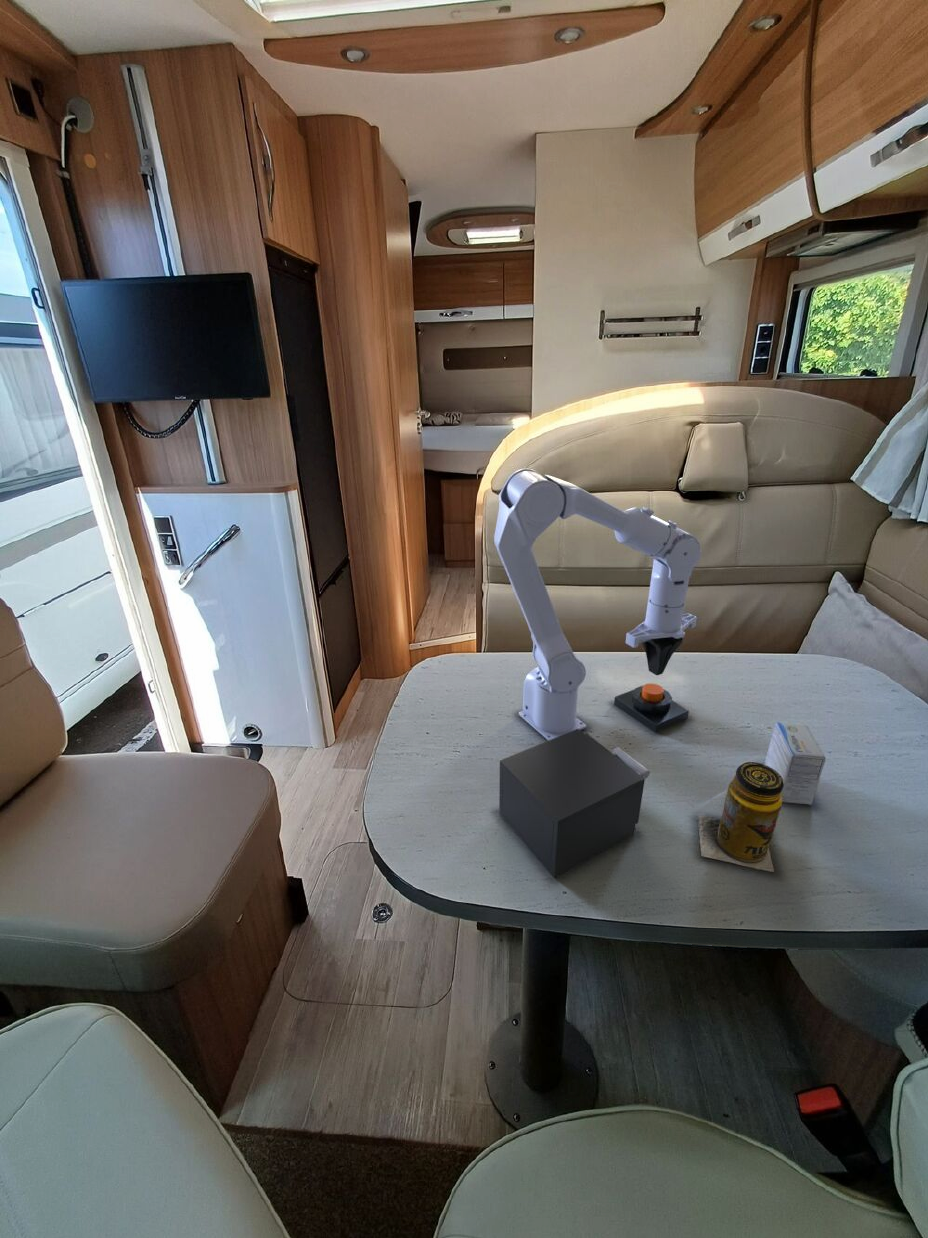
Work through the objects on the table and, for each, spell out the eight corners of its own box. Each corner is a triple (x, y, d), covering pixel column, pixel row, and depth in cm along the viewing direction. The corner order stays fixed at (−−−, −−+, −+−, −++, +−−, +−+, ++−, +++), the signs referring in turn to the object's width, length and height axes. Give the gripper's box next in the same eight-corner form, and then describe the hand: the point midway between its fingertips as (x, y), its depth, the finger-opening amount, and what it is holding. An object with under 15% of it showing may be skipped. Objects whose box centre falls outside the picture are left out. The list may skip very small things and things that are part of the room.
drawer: (603, 764, 87) (608, 723, 83) (660, 811, 78) (667, 767, 74) (515, 805, 79) (516, 762, 76) (566, 862, 70) (569, 816, 67)
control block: (613, 704, 103) (615, 688, 101) (645, 691, 106) (647, 676, 105) (655, 733, 95) (657, 716, 93) (687, 718, 98) (690, 702, 97)
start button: (637, 695, 100) (638, 686, 99) (651, 689, 101) (652, 681, 101) (652, 705, 97) (653, 696, 96) (667, 699, 99) (668, 690, 98)
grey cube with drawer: (573, 779, 85) (578, 728, 81) (634, 834, 75) (642, 779, 71) (499, 813, 79) (499, 760, 75) (554, 878, 69) (558, 821, 65)
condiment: (773, 873, 69) (797, 800, 64) (701, 857, 72) (717, 785, 66) (764, 829, 75) (784, 759, 70) (697, 816, 78) (712, 747, 73)
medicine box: (811, 806, 79) (828, 758, 75) (777, 802, 80) (792, 754, 76) (794, 769, 86) (808, 723, 82) (762, 766, 87) (775, 720, 83)
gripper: (653, 620, 85) (642, 695, 90) (716, 599, 91) (702, 670, 97) (620, 603, 90) (611, 675, 96) (682, 585, 96) (671, 654, 102)
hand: (655, 672), depth 97 cm, fingers closed
